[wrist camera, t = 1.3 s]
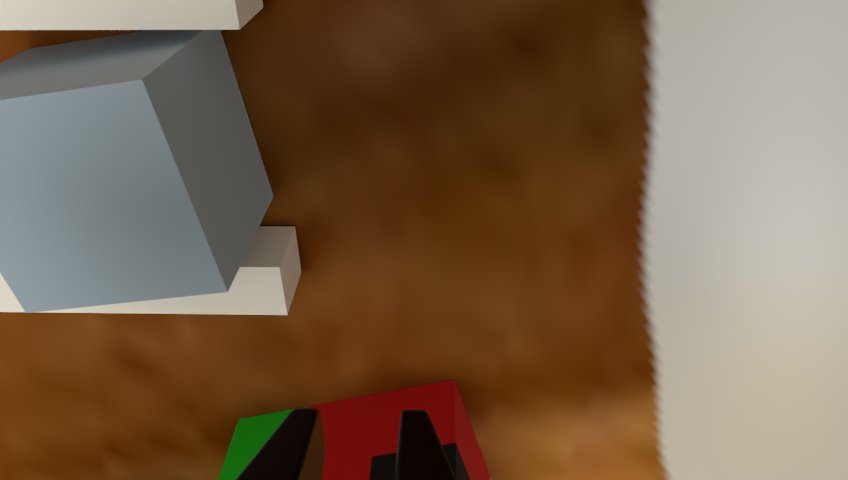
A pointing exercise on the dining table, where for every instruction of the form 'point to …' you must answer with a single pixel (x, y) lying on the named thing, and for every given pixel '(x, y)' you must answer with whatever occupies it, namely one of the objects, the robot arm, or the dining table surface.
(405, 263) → the dining table surface
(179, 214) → the block
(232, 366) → the dining table surface
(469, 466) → the puzzle toy
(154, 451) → the dining table surface
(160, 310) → the chute
